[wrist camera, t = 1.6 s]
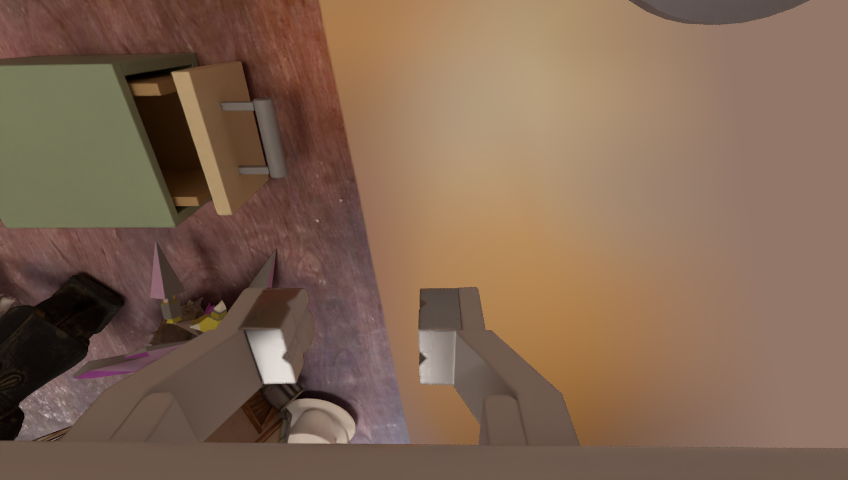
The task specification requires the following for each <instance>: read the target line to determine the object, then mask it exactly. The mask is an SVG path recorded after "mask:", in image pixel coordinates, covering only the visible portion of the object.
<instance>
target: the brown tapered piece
mask: <svg viewBox="0 0 848 480" xmlns="http://www.w3.org/2000/svg"><path fill="white" fill-rule="evenodd" d="M202 299H203V296H202V297H201V298H200V299H198V300H197V301H195V302H192V300H190V299H189V300H188V303H187V305H183V306H181V311H182V316H180V318H181V319H182V320H180V321H178V322H177V323H180V322H186V321H192V320H196V319H198V318H199V317H201V316H203V315H204V313H205V312H204V311H205V310H203V309H202V308H201V307H200V304H201V301H202ZM151 334H153V337H152V338H151V339H152V341H151V342H150V344H152V346H154V345H161V344H168V343H175V342H181V341H188V340H191V337H192V333H191V332H189V331H187V330H185V329H183V328H182V327H180V326H178V325H174V324H171V323H167V320H166V319H164V320H163V321H162V323H161V326H160V327H159V329H158V330H157V331H156V332H154V333H151Z"/></svg>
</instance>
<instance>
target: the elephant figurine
mask: <svg viewBox="0 0 848 480" xmlns="http://www.w3.org/2000/svg"><path fill="white" fill-rule="evenodd" d="M0 296H2V293H0ZM15 300H16V299H15V298H11V297H2V298H1V300H0V317H1V316H2V315H3V314H4V313H6V312H7V311H8V310H9V309H10V305H11V304H12V303H13V302H14V301H15Z"/></svg>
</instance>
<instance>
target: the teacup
mask: <svg viewBox="0 0 848 480" xmlns="http://www.w3.org/2000/svg"><path fill="white" fill-rule="evenodd" d="M286 408H287V409H288V410H289V411H290V412H291V414H292V420H291V426H290V432H289V438H288V443H320V444H350V440H351V439H352V438H353V436H354V434H355V431H356V425H355V422H354V420H353V418H352V417H351V416H350V414H349V413H348V412H347V411H345V410H344V409H343V408H341V407H340V406H338V405H335V404H333V403H331V402H328V401H324V400H320V399H311V398H304V399H295V400H294V401H293V402H292V403H291V404H289V405H288V406H287V407H286Z"/></svg>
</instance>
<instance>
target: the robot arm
mask: <svg viewBox="0 0 848 480" xmlns="http://www.w3.org/2000/svg"><path fill="white" fill-rule="evenodd" d="M308 303H309V298H308V294H307V291H306V290H305V289H304V288H247V289H244V290H243V292H242V293H241V294H240V296H239V297H238V299H237V300H236V301H235V303H234V304H233V306H232V307H231V308H230V310H229V311H228V313H227V314H226V315H225V317H224V318H223V320H222V321H221V322H220V324H219V325H218V327H217V328H216V329H215V330H208V331H206V332H204V333H203V334H201V335H199V336H198V337H196V338H194V339H192V340H191V341H189V342H187V343H185V344H184V345H182V346H180V347H179V348H177V349H175V350H173V351H172V352H170V353H168V354H166V355H165V356H163V357H161V358H159V359H158V360H156V361H154V362H153V363H151V364H149V365H147V366H146V367H144V368H142V369H140V370H139V371H137V372H135V373H134V374H132V375H130V376H128V377H127V378H125V379H123V380H121V381H120V382H118V383H116V384H114V385H113V386H111V387H109V388H108V389H106V390H104V391H103V392H102V394H101V395H100V396H99V397H98V398H97V399H96V400H95V401H94V402H93V404H92V405H91V406H90V407H89V408H88V409H87V410H86V411H85V413H84V414H83V415H82V416H81V417H80V418H79V419H78V420H77V421H76V423H75V424H74V425H73V426H72V427H71V428H70V429H69V430H68V431H67V433H66V434H65V435H64V436H63V437H62V438H61V439H60V440H59V441H0V480H848V448H742V447H741V448H739V447H731V448H730V447H729V448H728V447H632V446H630V447H629V446H622V447H621V446H580V444H579V441H578V438H577V435H576V432H575V429H574V427H573V424H572V421H571V418H570V415H569V412H568V410H567V407H566V404H565V401H564V398H563V395H562V393H561V392H559V391H558V390H557V389H556V388H555V387H554V386H553V385H552V384H550V383H549V382H548V381H547V380H546V379H545V378H544V377H543V376H542V375H541V374H539V373H538V372H537V371H536V370H535V369H534V368H533V367H532V366H531V365H529V364H528V363H527V362H526V361H525V360H524V359H523V358H521V357H520V356H519V355H518V354H517V353H516V352H515V351H514V350H513V349H512V348H510V347H509V346H508V345H507V344H506V343H505V342H504V341H503V340H502V339H500V338H499V337H498V336H497V335H496V334H495V333H494V332H493V331H491V330H485V324H484V318H483V313H482V307H481V302H480V296H479V291H478V289H477V287H468V288H467V287H466V288H454V289H453V288H447V289H446V288H438V289H437V288H435V289H434V288H433V289H432V288H429V289H420V309H419V326H418V327H419V328H418V333H419V352H420V357H419V360H420V361H419V370H420V384H436V385H454V387H455V389H456V391H457V392H458V394H459V395H460V396H461V398H462V399H463V401H464V402H465V404H466V405H467V407H468V408H469V409H470V411H471V412H472V414H473V415H474V417H475V418H476V420H477V421H478V422H479V424H480V425H481V426H480V435H479V445H429V444H428V445H427V444H426V445H425V444H424V445H422V444H320V443H216V442H203V441H204V440H206V439H207V438H208V437H209V436H210V435H211V434H212V433H213V432H214V431H215V430H216V429H217V428H218V427H219V426H220V425H221V424H223V423H224V422H225V421H226V420H227V419H228V418H229V417H230V416H231V415H232V414H233V413H234V412H235V411H236V410H237V409H239V408H240V407H241V406H242V405H243V404H244V403H245V402H246V401H247V400H248V399H249V398H250V397H251V396H252V395H253V394H254V393H256V392H257V391H258V390H259V389H260V388H261V387H262V384H288V383H296V382H297V380H298V377H299V375H300V372H301V369H302V367H303V364H304V359H303V355H302V354H303V353H305V352H306V351H307V350H308V349H309V348H310V346H311V343H312V339H313V332H314V321H313V316H312V313H311V312H310V311H308V310H307V309H306V307H307V305H308Z"/></svg>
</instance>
